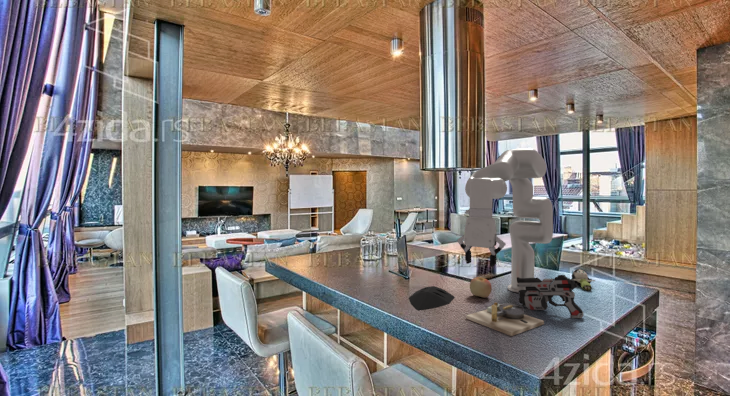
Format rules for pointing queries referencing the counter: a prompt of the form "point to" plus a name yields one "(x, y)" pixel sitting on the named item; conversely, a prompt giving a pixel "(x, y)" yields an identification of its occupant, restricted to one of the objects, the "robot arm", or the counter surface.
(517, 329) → the board
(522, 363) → the counter surface
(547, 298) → the toy blaster
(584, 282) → the toy
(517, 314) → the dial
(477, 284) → the apple
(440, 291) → the mask
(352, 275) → the counter surface
